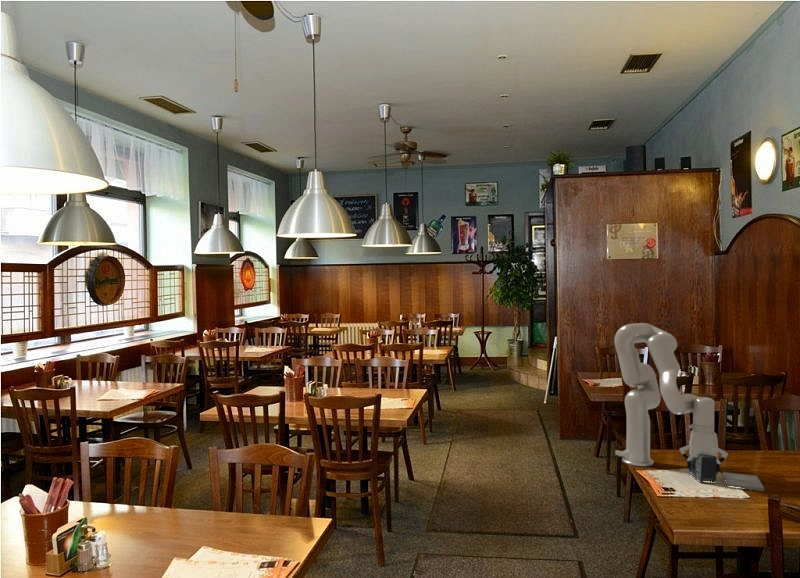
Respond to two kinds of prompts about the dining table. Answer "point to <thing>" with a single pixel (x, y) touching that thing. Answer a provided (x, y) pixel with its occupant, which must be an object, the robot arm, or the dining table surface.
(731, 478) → the slate board
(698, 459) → the small box
